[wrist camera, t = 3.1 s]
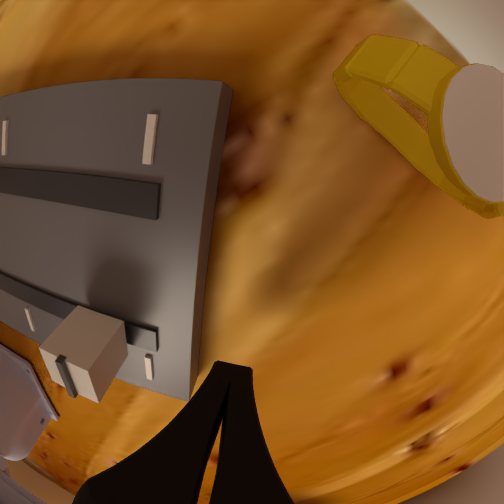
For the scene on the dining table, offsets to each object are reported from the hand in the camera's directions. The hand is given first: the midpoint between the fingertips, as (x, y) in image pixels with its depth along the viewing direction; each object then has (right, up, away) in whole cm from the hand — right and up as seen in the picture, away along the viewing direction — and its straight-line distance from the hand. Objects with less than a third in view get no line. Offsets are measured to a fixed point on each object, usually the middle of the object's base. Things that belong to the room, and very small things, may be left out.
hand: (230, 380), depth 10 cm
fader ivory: (-6, +1, +1) cm, 6 cm away
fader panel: (-11, +6, +2) cm, 13 cm away
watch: (+6, +9, -1) cm, 11 cm away
